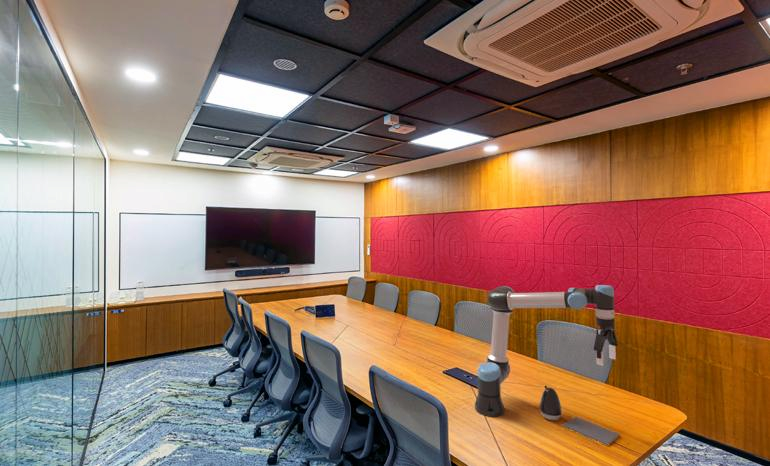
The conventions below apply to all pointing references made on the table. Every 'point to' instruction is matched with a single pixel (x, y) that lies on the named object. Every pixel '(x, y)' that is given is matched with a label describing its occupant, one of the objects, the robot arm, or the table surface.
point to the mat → (591, 430)
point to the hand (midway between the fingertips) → (606, 361)
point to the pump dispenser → (550, 404)
